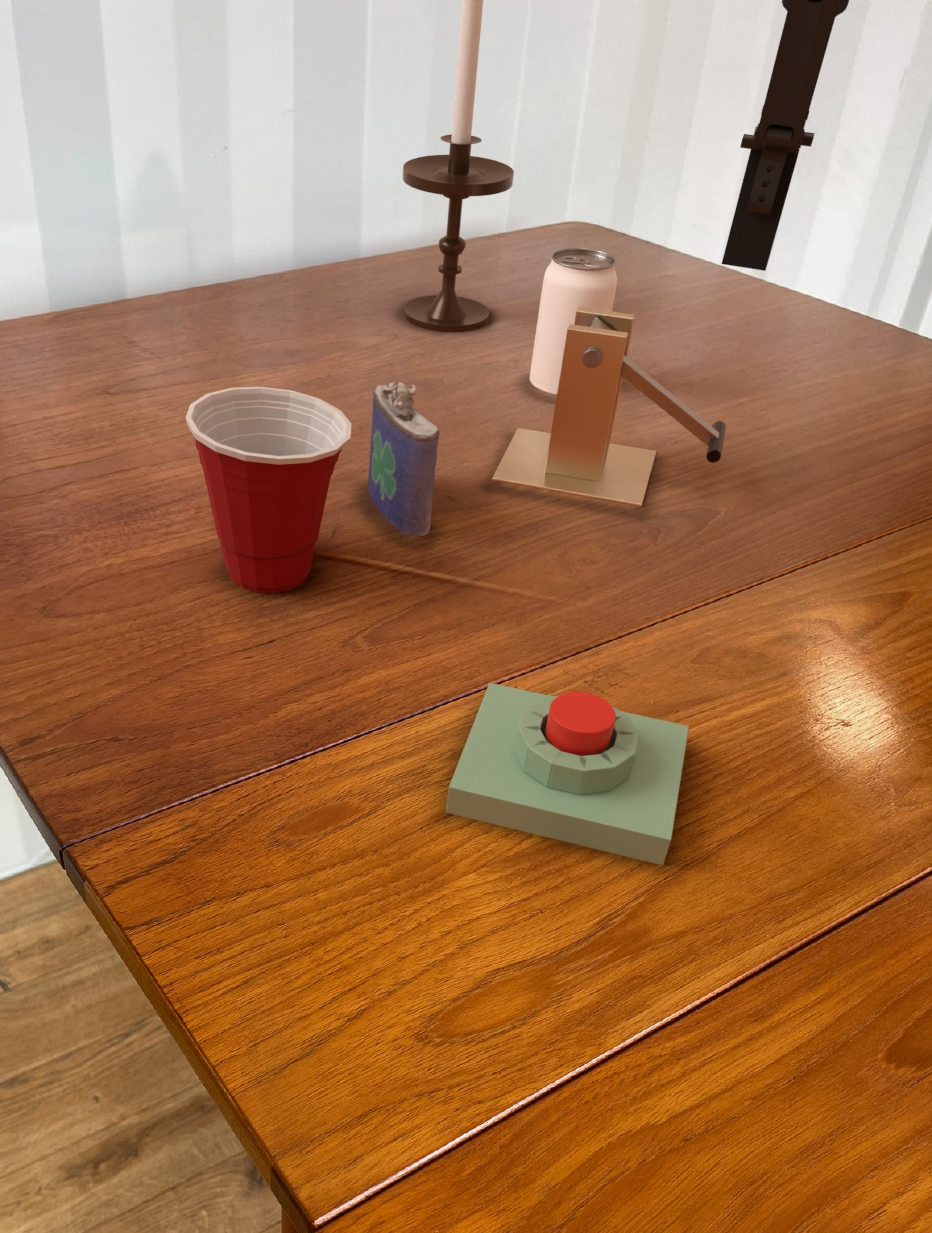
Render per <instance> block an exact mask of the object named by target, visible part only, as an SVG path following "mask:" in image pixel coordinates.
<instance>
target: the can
mask: <svg viewBox="0 0 932 1233" xmlns="http://www.w3.org/2000/svg"><path fill="white" fill-rule="evenodd" d="M616 264H617V259H616V258H615V257H614V256H613V255H611V254H610V253H607V252H605V251H601V250H598V249H593V248H584V247H568V248H567V247H566V248H562V249H557V250H555V251H554V252H553V253H552V254H551V261H550V263H549V265H548V266H547V267H546V270H545V272H544V275H543V281H542V287H541V293H540V300H539V308H538V315H537V320H536V321H537V322H536V329H535V336H534V342H533V350H532V357H531V363H530V364H531V365H530V371H529V382H530V383H531V385H533V386H534V387H535V388H537V389H539V390H540V391H543V392H546V393H548V394H554V395H557V392H558V385H559V379H560V373H561V367H562V360H563V354H564V348H565V341H566V335H567V329H568V327H569V325H570V324H572V325H574V323H575V317H576V311H577V309H578V307H584V308H591V309H598V310H605V311H612V312H613V308H614V302H615V297H616V292H617V284H618V277H617V272H616V268H615V266H616Z"/></svg>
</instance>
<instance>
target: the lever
mask: <svg viewBox="0 0 932 1233" xmlns="http://www.w3.org/2000/svg"><path fill="white" fill-rule="evenodd" d="M588 327H592V328H599V329H606V330H612V329H611V328H609V327H608V326H607V325H606V324H604V323H603V322H602V321H601V320H600V319H598V318H597V317H595V318H594V319H593V321H592V322H591V323H590V324H589V326H588ZM620 375H621V376H622V377H623V379H624V380H626V381H627V382H628V383H629V384H630V385H631V386H633V387H634V388H635V389H637V390H638V391H639V392H640V393H642V394H643V395H644V396H645V397H646V398H647V399H649V400H650V401H652V402H653V403H654V404H655V405H656V406H657V407H659V408H660V409H661V410H663V412H665V413H666V414H668V416H670V417H671V418H672V419H673V420H675V421H676V422H678V423H679V424H680V425H681V426H682V427H683V428H685V429H686V430H687V431H688V432H690V433H691V434H692V435H694V436H695V437H696V438H697V439H698V440H699V441H701V442H702V443H703V444H704V445H706V446H707V449H706V455H705V457H706V460H707V462H709V463H711V464H714V463H715V464H716V463H717V462H719V461H720V460H721V457H722V454H723V447H724V441H725V435H726V430H727V426H726V424H725V422H723V421H721V420H719V421H715V422H714V423H712V425H710V423H708V422H707V421H706V420H704V419H703V417H701V416H700V415H698V414H697V413H696V412H695V411H694V410H692V409H691V408H690V407H688V405H686V404H685V403H684V402H683V401H682V400H680V399H679V398H677V397H676V396H675V395H674V394H673V393H671V392H670V391H669V390H668V389H666V387H664V386H662V385H661V383H659V382H658V381H657V380H656V379H654V378H653V377H652V376H650V375H649V374H648V373H647V372H645V371H644V370H643V369H642V368H641V367H639V366H638V365H637V364H636V363H634V362H633V360H631V359H630V358H629V357H628V356H627V357H626V356H625V355H624V358H623V363H622V368H621V373H620Z"/></svg>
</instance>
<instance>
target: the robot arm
mask: <svg viewBox="0 0 932 1233" xmlns="http://www.w3.org/2000/svg"><path fill="white" fill-rule="evenodd" d="M849 3H850V0H781V4H782V7H783V9H785V11H786V16H785V20H784V24H783V28H782V30H781V31H782V32H781V35H780V39H779V43H778V49H777V52H776V56H775V58H774V59H775V60H774V63H773V67H772V72H771V76H770V79H769V84H768V86H767V87H768V88H767V91H766V95H765V99H764V104H763V105H762V108H761V112H760V119H759V123H757V126H755V128H754V133H753V134H749V133H748V134H747V133H744V134H743V135H742V138H741V142H740V148H741V149H747V150H750V151H749V155H748V159H747V163H746V166H745V171H744V174H743V179H742V182H741V185H740V190H739V194H738V198H737V201H736V206H735V209H734V214H733V218H732V222H731V224H730V229H729V233H728V237H727V241H726V245H725V249H724V253H723V257H722V260H721V265H724V266H725V265H726V266H732V267H737V268H745V269H751V270H756V271H757V270H758V271H762V272H763V271H764V272H766V270H767V267H768V264H769V260H770V256H771V253H772V249H773V246H774V242H775V239H776V235H777V231H778V228H779V224H780V221H781V217H782V214H783V211H784V207H785V203H786V199H787V196H788V194H789V189H790V185H791V182H792V178H793V176H794V172H795V168H796V165H797V160H798V157H799V154H800V149H801V147H810V148H812V144H813V141H814V137H815V132H809V131H805V130H806V129H805V126H806V123H807V121H808V118H809V114H810V108H811V104H812V101H813V97H814V95H815V94H814V93H815V91H816V87H817V83H818V80H819V77H820V73H821V69H822V65H823V62H824V59H825V55H826V53H827V52H826V51H827V49H828V45H829V42H830V37H831V35H832V30H833V27H834V24H835V20H836V17H837V16H839V15H840V14H842V13H844V12H845V11H846V10H847V8H848V6H849Z"/></svg>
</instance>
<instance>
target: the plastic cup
mask: <svg viewBox="0 0 932 1233" xmlns="http://www.w3.org/2000/svg"><path fill="white" fill-rule="evenodd" d="M185 422H186V425H187V427H188V428H189V431H190V432H191V434H192V436H193V438H194V442H195V447H196V449H197V452H198V457H199V463H200V465H201V467H202V471H203V476H204V480H205V485H206V489H207V494H208V498H209V499H208V500H209V503H210V507H211V512H212V516H213V521H214V525H215V530H216V535H217V537H218V539H219V543H220V546H221V551H222V555H223V560H224V565H225V569H226V571H227V572H228V575H229V577H230V579H231V580H232V582H233V583H234V584H236V585H237V586H239V587H240V588H242V589H243V590H247V591H251V592H254V593H258V594H277V593H284V592H289V591H292V590H293V589H296V588H298V587H299V586H302V585H303V583H305V581H306V580H307V579H308V577H309V574H310V573H311V569H312V564H313V559H314V553H315V549H316V548H315V547H316V542H318V539H319V534H320V530H321V524H322V520H323V515H324V512H325V506H326V501H327V496H328V492H329V487H330V482H331V479H332V476H333V474H334V471H335V467H336V464H337V462H338V461H339V457H340V453H342V450H343V449H344V447H346V446H347V445H348V444H349V442H350V440H351V437H352V422H351V421H350V420H349V418H347V416H346V415H345V414H344V412H343V411H342V410H341V409H339V408H337V407H336V406H334V405H332V404H330V403H329V402H327V401H324V400H323V399H321V398H319V397H315V396H312V395H308V394H305V393H302V392H299V391H295V390H293V389H283V388H274V387H267V386H244V387H243V386H242V387H241V386H240V387H228V388H225V389H221V390H217V391H212V392H209V393H206V394H204V395H202V396H201V397H199V398H198V399H196V400H194V401H193V402H191V403H190V404H189V406H188V410H187V412H186V415H185Z"/></svg>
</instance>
